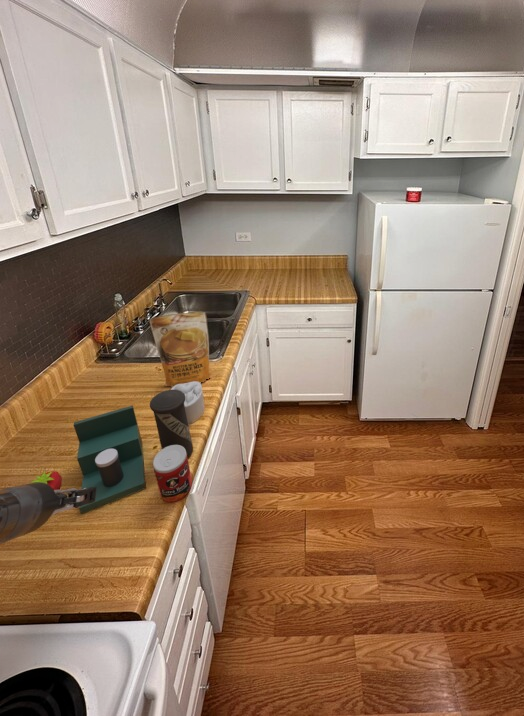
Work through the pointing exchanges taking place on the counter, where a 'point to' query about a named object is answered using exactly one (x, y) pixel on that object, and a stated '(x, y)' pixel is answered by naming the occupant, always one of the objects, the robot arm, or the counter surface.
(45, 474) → the strawberry
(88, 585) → the counter surface
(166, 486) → the canned food
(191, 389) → the lumpy-topped squat cylinder
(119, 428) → the spice shelf
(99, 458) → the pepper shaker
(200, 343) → the pancake mix bag
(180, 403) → the container
